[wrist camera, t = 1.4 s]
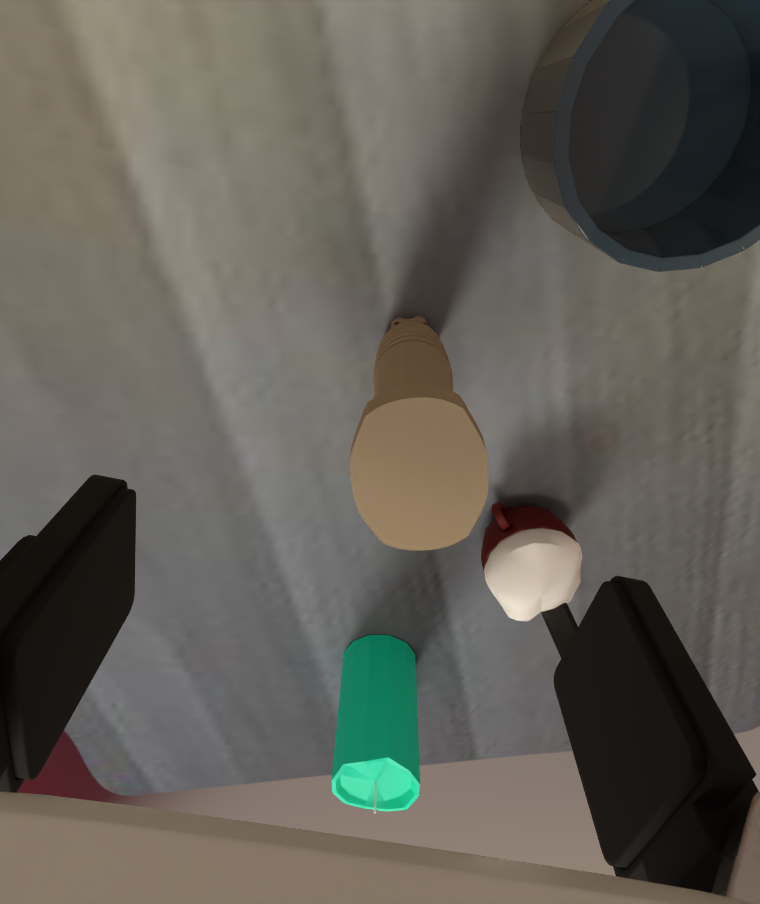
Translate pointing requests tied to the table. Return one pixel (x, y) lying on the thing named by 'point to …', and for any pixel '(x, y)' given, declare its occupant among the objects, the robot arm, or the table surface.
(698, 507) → the table surface
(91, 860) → the robot arm
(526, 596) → the cocoa
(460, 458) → the handle
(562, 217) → the crock
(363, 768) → the candle
